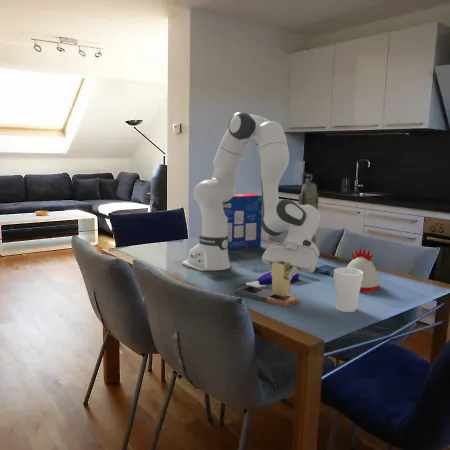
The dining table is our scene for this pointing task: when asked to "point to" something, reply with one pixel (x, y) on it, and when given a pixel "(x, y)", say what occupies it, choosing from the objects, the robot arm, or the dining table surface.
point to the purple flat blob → (267, 280)
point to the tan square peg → (280, 278)
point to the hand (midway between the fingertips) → (280, 277)
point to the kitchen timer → (365, 270)
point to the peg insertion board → (266, 295)
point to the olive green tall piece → (309, 198)
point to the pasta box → (244, 221)
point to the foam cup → (347, 288)
